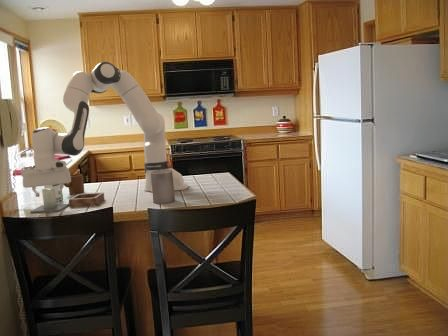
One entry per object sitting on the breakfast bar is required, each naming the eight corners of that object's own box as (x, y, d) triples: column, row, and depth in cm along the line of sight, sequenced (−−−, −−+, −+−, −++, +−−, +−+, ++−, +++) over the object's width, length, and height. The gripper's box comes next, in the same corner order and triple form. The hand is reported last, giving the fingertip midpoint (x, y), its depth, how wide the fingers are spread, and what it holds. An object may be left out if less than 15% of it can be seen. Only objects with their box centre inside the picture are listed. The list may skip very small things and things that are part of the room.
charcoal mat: (69, 205, 227) (69, 203, 227) (60, 211, 215) (59, 209, 215) (41, 207, 227) (41, 205, 227) (30, 213, 215) (30, 211, 215)
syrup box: (53, 202, 236) (50, 172, 234) (45, 201, 239) (42, 172, 237) (63, 200, 241) (60, 170, 239) (55, 199, 244) (51, 170, 242)
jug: (57, 208, 218) (54, 189, 217) (44, 210, 216) (41, 191, 215) (57, 205, 224) (54, 187, 223) (44, 207, 223) (42, 188, 221)
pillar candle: (162, 198, 228) (159, 166, 226) (179, 199, 223) (176, 166, 221) (148, 203, 220) (145, 170, 218) (166, 204, 215) (163, 170, 213)
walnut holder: (104, 199, 235) (103, 192, 234) (96, 205, 222) (95, 197, 222) (78, 201, 235) (77, 194, 235) (69, 207, 223) (68, 199, 222)
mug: (71, 196, 249) (68, 178, 247) (59, 196, 252) (57, 177, 251) (87, 191, 259) (85, 174, 258) (76, 191, 263) (74, 173, 261)
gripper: (19, 167, 212) (23, 199, 214) (69, 162, 218) (72, 193, 220) (20, 166, 218) (24, 196, 220) (68, 161, 224) (72, 191, 226)
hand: (49, 195), depth 220 cm, fingers open, 8 cm apart
